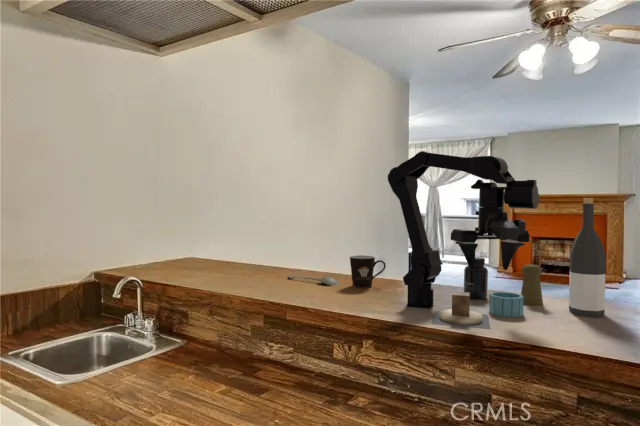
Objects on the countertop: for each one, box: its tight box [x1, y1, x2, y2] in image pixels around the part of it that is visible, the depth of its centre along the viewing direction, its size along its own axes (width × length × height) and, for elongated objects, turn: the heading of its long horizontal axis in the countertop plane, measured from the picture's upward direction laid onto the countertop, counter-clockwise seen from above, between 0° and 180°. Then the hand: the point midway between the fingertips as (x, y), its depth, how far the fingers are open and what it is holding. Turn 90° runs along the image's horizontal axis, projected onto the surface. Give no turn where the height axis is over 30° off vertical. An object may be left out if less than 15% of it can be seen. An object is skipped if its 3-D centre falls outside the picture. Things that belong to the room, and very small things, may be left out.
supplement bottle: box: [463, 256, 489, 300], centre depth 134 cm, size 7×7×12 cm
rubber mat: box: [430, 310, 491, 330], centre depth 108 cm, size 13×13×1 cm
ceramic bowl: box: [488, 291, 525, 318], centre depth 114 cm, size 8×8×5 cm
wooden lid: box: [439, 291, 482, 325], centre depth 107 cm, size 10×10×6 cm
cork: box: [520, 263, 544, 306], centre depth 126 cm, size 6×6×11 cm
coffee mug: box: [349, 254, 386, 288], centre depth 150 cm, size 12×9×10 cm
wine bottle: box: [568, 197, 607, 318], centre depth 115 cm, size 8×8×30 cm
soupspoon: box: [286, 275, 340, 286], centre depth 159 cm, size 22×3×7 cm
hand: (488, 270), depth 110 cm, fingers open, 9 cm apart
